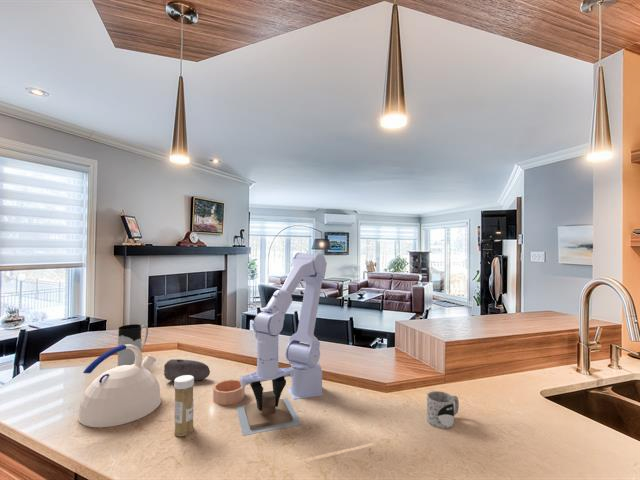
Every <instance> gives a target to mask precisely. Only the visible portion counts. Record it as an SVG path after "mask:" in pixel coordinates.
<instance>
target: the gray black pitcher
mask: <svg viewBox="0 0 640 480" xmlns="http://www.w3.org/2000/svg"><path fill="white" fill-rule="evenodd" d="M144 327H145V328H146V329H145V330H146V331H145V338H144V341H143V342H142V329H143V328H144ZM148 335H149V327H148V325H147V324H143V325H141V324H125V325H121V326H119V327H118V337H117V347H118V346H121V345H127V344H131V345H134V346H136V347H138V349H139V350H140V351H141V352H142V350H143V348H144V347H145V345H146V343H147V340H148V339H147V338H148V337H149V336H148ZM134 362H135V354H134V352H133V351H132V350H131V349H124V350H121V351H119V352H117V365H116V367H118V366H122V365H132V364H134Z"/></svg>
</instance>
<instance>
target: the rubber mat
mask: <svg viewBox="0 0 640 480" xmlns="http://www.w3.org/2000/svg"><path fill="white" fill-rule="evenodd" d="M282 399H283V401H284V402H285V404H286V406H287V408H288V410H289V412H290V414H291V415H292V417H293V421H292V422H287V423H282V424H277V425H271V426H266V427H261V428H256V429H251V430H250V427H249V424H248V420H247V417H246V413H245V409H244V405H245V404H244V405H238V406H236V411H237V416H238V420H239V425H240V429H241V433H242V436H249V435H250V436H251V435H254V434H258V433H259V434H260V433H265V432H268V431H273V430H278V429H286V428H290V427H294V426H299V425H303V422H302V421H301V419H300V418H299V416H298V414H297V412H296V411H295V409H294V407H293V406H292V404H291V402H290V400H289V399H288V397H287V398H282Z"/></svg>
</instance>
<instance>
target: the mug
mask: <svg viewBox="0 0 640 480" xmlns="http://www.w3.org/2000/svg"><path fill="white" fill-rule="evenodd" d="M459 407H460V404H459V397H458V396H457V395H451V394H449V393H447V392H444V391H437V390H436V391H434V390H433V391H430V392H428V393H427V394H426V421H427V423H428V424H429V425H430V426H431V427H433V428H436V429H439V430H450V429H452V428H453V427H455V416H456V415H457V414H458V413H459V409H460V408H459Z"/></svg>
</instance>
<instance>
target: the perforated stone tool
mask: <svg viewBox="0 0 640 480" xmlns="http://www.w3.org/2000/svg"><path fill="white" fill-rule="evenodd" d="M163 367H164V368H163V372H164V374H163V376H164V378H165V379H166V380H168V381H173V382H174V380H175V379H176V378H177V377H179V376H183V375H191V376H193V377H194V382H195V381H200V380H201V381H202V380H205V379H206V378H208V377H209V375H210V374H211V370H210V368H209V366H208V365H207V364H206V363H203V362H201V361H197V360H192V359H190V360H189V359H179V358H177V359H176V358H175V359H169V360H168V361H166V362H165V364H164V365H163Z"/></svg>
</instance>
